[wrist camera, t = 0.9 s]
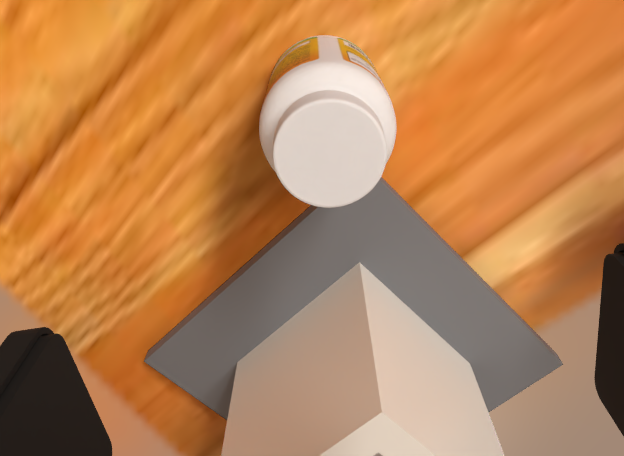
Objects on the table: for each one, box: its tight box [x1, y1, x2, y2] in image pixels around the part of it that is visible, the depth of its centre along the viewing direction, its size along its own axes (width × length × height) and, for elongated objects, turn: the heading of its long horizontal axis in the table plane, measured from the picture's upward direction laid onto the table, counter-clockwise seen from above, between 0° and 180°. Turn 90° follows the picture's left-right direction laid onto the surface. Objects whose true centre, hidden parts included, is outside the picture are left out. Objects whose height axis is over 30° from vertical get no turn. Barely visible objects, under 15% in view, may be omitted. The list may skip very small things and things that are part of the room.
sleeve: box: [221, 262, 505, 456], centre depth 30 cm, size 10×10×11 cm
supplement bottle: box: [259, 35, 396, 208], centre depth 24 cm, size 5×5×10 cm
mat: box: [144, 177, 563, 420], centre depth 35 cm, size 18×18×1 cm
